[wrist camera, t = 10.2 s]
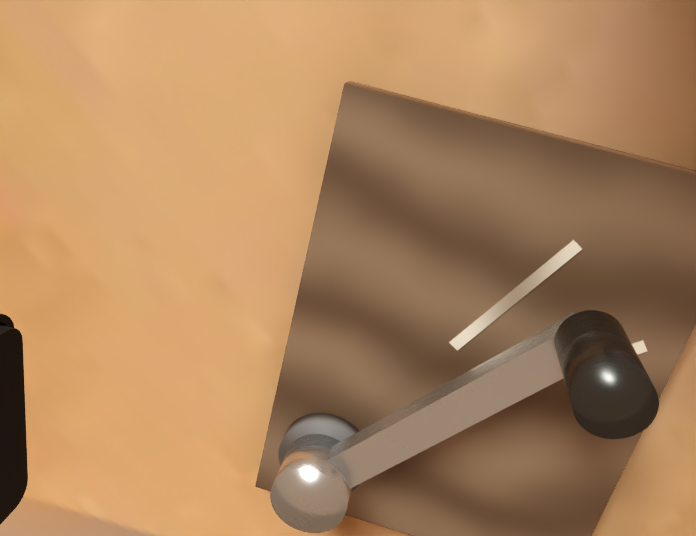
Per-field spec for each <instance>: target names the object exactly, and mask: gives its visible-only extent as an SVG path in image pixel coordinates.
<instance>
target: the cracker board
mask: <svg viewBox="0 0 696 536" xmlns="http://www.w3.org/2000/svg"><path fill="white" fill-rule="evenodd" d="M586 310H597V311H602V312H605V313H608V314H610V315H612V316H613V317H615V318H616V319H617V320H618V321H619V322H620V323H621V325H622V327H623V328H624V330H625V332H626V334H627V336H628V338H629V340H630V342H631V344H632V345H633V347H634V349H635V351H636V353H637V355H638V357H639V359H640V361H641V363H642V365H643V366H644V368H645V370H646V372H647V374H648V376H649V378H650V380H651V382H652V384H653V385H654V387H655V389H656V392H657V394H658V399H659V397H660V395H661V393H662V391H663V389H664V387H665V385H666V383H667V381H668V379H669V377H670V375H671V373H672V370H673V368H674V366H675V364H676V362H677V360H678V358H679V356H680V354H681V352H682V350H683V348H684V346H685V344H686V342H687V340H688V338H689V336H690V334H691V332H692V330H693V328H694V326H695V324H696V171H694V170H690V169H686V168H682V167H678V166H674V165H671V164H667V163H663V162H659V161H655V160H651V159H648V158H644V157H640V156H636V155H632V154H628V153H624V152H621V151H617V150H613V149H609V148H605V147H601V146H597V145H594V144H590V143H586V142H582V141H578V140H574V139H570V138H567V137H563V136H559V135H555V134H551V133H547V132H544V131H540V130H536V129H532V128H528V127H524V126H520V125H517V124H513V123H509V122H505V121H501V120H497V119H493V118H490V117H486V116H482V115H478V114H474V113H470V112H466V111H463V110H459V109H455V108H451V107H447V106H443V105H440V104H436V103H432V102H428V101H424V100H420V99H416V98H413V97H409V96H405V95H401V94H397V93H393V92H389V91H386V90H382V89H378V88H374V87H370V86H366V85H362V84H359V83H355V82H351V81H349V82H347V83H345V84H344V88H343V92H342V97H341V101H340V106H339V110H338V115H337V119H336V124H335V128H334V133H333V137H332V142H331V146H330V151H329V156H328V160H327V165H326V169H325V174H324V178H323V183H322V187H321V192H320V196H319V201H318V205H317V210H316V214H315V219H314V223H313V228H312V232H311V237H310V241H309V246H308V251H307V255H306V260H305V264H304V269H303V273H302V278H301V282H300V287H299V291H298V296H297V300H296V305H295V309H294V314H293V318H292V323H291V327H290V332H289V336H288V341H287V346H286V350H285V355H284V359H283V364H282V368H281V373H280V377H279V382H278V386H277V391H276V395H275V400H274V404H273V409H272V413H271V418H270V422H269V427H268V431H267V436H266V440H265V445H264V450H263V454H262V459H261V463H260V468H259V472H258V477H257V481H256V486H255V487H258V488H262V489H265V490H268V491H271V488H272V486H273V483H274V481H275V478H276V476H277V474H278V471H279V469H280V467H281V464H282V462H283V460H284V457H285V455H286V453H287V450H288V448H289V447H290V445H291V444H292V443H293V442H294V441H295V440H297V439H298V438H300V437H302V436H305V435H310V434H322V435H327V436H330V437H333V438H335V439H337V440H339V441H340V442H341V441H343V440H344V439H346V438H348V437H350V436H352V435H353V434H355V433H357V432H359V431H361V430H362V429H364V428H366V427H368V426H370V425H371V424H373V423H375V422H377V421H379V420H381V419H382V418H384V417H386V416H388V415H390V414H391V413H393V412H395V411H397V410H399V409H400V408H402V407H404V406H406V405H408V404H409V403H411V402H413V401H415V400H417V399H419V398H420V397H422V396H424V395H426V394H428V393H429V392H431V391H433V390H435V389H437V388H438V387H440V386H442V385H444V384H446V383H447V382H449V381H451V380H453V379H455V378H457V377H458V376H460V375H462V374H464V373H466V372H467V371H469V370H471V369H473V368H475V367H476V366H478V365H480V364H482V363H484V362H485V361H487V360H489V359H491V358H493V357H495V356H496V355H498V354H500V353H502V352H504V351H505V350H507V349H509V348H511V347H513V346H514V345H516V344H518V343H520V342H522V341H523V340H525V339H527V338H529V337H531V336H533V335H534V334H536V333H538V332H540V331H542V330H543V329H545V328H547V327H549V326H551V325H552V324H554V323H556V322H558V321H560V320H561V319H563V318H565V317H567V316H569V315H571V314H572V313H574V314H575V313H578V312H581V311H586ZM642 432H643V431H642ZM642 432H640V433H638V434H636V435H634V436H631V437H628V438H623V439H605V438H601V437H597V436H595V435H593V434H591V433H589V432H587V431H586V430H585V429H583V428H582V427H581V426H580V424H579V423H578V422H577V420H576V419H575V416H574V414H573V410H572V407H571V403H570V399H569V396H568V392H567V389H566V385H565V381H564V378H563V379H561V380H559V381H557V382H555V383H553V384H551V385H549V386H548V387H546V388H544V389H542V390H540V391H538V392H536V393H534V394H532V395H530V396H528V397H526V398H524V399H522V400H520V401H519V402H517V403H515V404H513V405H511V406H509V407H507V408H505V409H503V410H501V411H499V412H497V413H495V414H493V415H492V416H490V417H488V418H486V419H484V420H482V421H480V422H478V423H476V424H474V425H472V426H470V427H468V428H466V429H464V430H463V431H461V432H459V433H457V434H455V435H453V436H451V437H449V438H447V439H445V440H443V441H441V442H439V443H437V444H436V445H434V446H432V447H430V448H428V449H426V450H424V451H422V452H420V453H418V454H416V455H414V456H412V457H410V458H408V459H407V460H405V461H403V462H401V463H399V464H397V465H395V466H393V467H391V468H389V469H387V470H385V471H383V472H381V473H380V474H378V475H376V476H374V477H372V478H370V479H368V480H366V481H364V482H362V483H360V484H358V485H356V486H354V487H352V490H351V494H350V498H349V502H348V506H347V510H346V514H345V515H348V516H351V517H354V518H358V519H361V520H364V521H367V522H370V523H374V524H377V525H380V526H383V527H386V528H390V529H393V530H396V531H399V532H402V533H405V534H409V535H412V536H591V535H592V533H593V531H594V529H595V527H596V525H597V523H598V521H599V519H600V517H601V515H602V513H603V511H604V509H605V507H606V505H607V503H608V501H609V499H610V497H611V495H612V493H613V491H614V489H615V487H616V485H617V482H618V480H619V478H620V476H621V474H622V472H623V470H624V468H625V466H626V464H627V462H628V460H629V458H630V456H631V454H632V452H633V450H634V448H635V446H636V444H637V442H638V440H639V438H640V436H641V434H642Z"/></svg>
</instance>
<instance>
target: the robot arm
mask: <svg viewBox="0 0 696 536" xmlns="http://www.w3.org/2000/svg"><path fill="white" fill-rule="evenodd" d="M27 480H28V474H27V448H26V421H25V395H24V368H23V342H22V335H21V333H20V331H19V330H17V329H15V328H14V324H13V322H12V320H11V319H10V318H9V317H8V316H6V315H3V314H0V524H1V523H2V522H3V521H4V520H5V519H6V518H7V517H8V516H9V514H10V513H11V512H12V511H13V510H14V509H15V508H16V507H17V505H18V504H19V502H20V501H21V499H22V497H23V495H24V493H25V490H26V487H27Z"/></svg>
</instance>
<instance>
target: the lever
mask: <svg viewBox="0 0 696 536" xmlns="http://www.w3.org/2000/svg"><path fill="white" fill-rule="evenodd" d="M563 378H564V381H565V385H566V389H567V392H568V396H569V399H570V403H571V407H572V410H573V414H574V416H575V419H576V420H577V422H578V423H579V424H580V426H581V427H582V428H583V429H585V430H586V431H587V432H589V433H591V434H593V435H595V436H597V437H601V438H605V439H623V438H628V437H631V436H634V435H636V434H638V433H640V432H642V431H643V430H644V429H646V428H647V427H648V426H649V425H650V424H651V423H652V421H653V420H654V418H655V416H656V414H657V411H658V406H659V399H658V394H657V392H656V389H655V387H654V385H653V384H652V382H651V380H650V378H649V376H648V374H647V372H646V370H645V368H644V366H643V365H642V363H641V361H640V359H639V357H638V355H637V353H636V351H635V349H634V347H633V345H632V344H631V342H630V340H629V338H628V336H627V334H626V332H625V330H624V328H623V327H622V325H621V323H620V322H619V321H618V320H617V319H616V318H615V317H613V316H612V315H610V314H608V313H605V312H602V311H597V310H586V311H581V312H578V313H575V314H574V313H572V314H571V315H569V316H567V317H565V318H563V319H561V320H560V321H558V322H556V323H554V324H552V325H551V326H549V327H547V328H545V329H543V330H542V331H540V332H538V333H536V334H534V335H533V336H531V337H529V338H527V339H525V340H523V341H522V342H520V343H518V344H516V345H514V346H513V347H511V348H509V349H507V350H505V351H504V352H502V353H500V354H498V355H496V356H495V357H493V358H491V359H489V360H487V361H485V362H484V363H482V364H480V365H478V366H476V367H475V368H473V369H471V370H469V371H467V372H466V373H464V374H462V375H460V376H458V377H457V378H455V379H453V380H451V381H449V382H447V383H446V384H444V385H442V386H440V387H438V388H437V389H435V390H433V391H431V392H429V393H428V394H426V395H424V396H422V397H420V398H419V399H417V400H415V401H413V402H411V403H409V404H408V405H406V406H404V407H402V408H400V409H399V410H397V411H395V412H393V413H391V414H390V415H388V416H386V417H384V418H382V419H381V420H379V421H377V422H375V423H373V424H371V425H370V426H368V427H366V428H364V429H362V430H361V431H359V432H357V433H355V434H353V435H352V436H350V437H348V438H346V439H344V440H343V441H341V442H340V441H339V440H337V439H335V438H333V437H330V436H327V435H322V434H310V435H305V436H302V437H300V438H298V439H297V440H295V441H294V442H293V443H292V444H291V445H290V447H289V448H288V450H287V453H286V455H285V457H284V460H283V462H282V464H281V467H280V469H279V471H278V474H277V476H276V478H275V481H274V483H273V486H272V488H271V494H270V498H271V503H272V506H273V508H274V510H275V512H276V514H277V515H278V516H279V517H280V518H281V519H282V520H283V521H284V522H285V523H286V524H288V525H289V526H291V527H293V528H295V529H297V530H300V531H303V532H309V533H321V532H326V531H329V530H331V529H333V528H335V527H336V526H337V525H339V524H340V523H341V521H342V520H343V518H344V516H345V514H346V510H347V506H348V502H349V498H350V494H351V490H352V487H354V486H356V485H358V484H360V483H362V482H364V481H366V480H368V479H370V478H372V477H374V476H376V475H378V474H380V473H381V472H383V471H385V470H387V469H389V468H391V467H393V466H395V465H397V464H399V463H401V462H403V461H405V460H407V459H408V458H410V457H412V456H414V455H416V454H418V453H420V452H422V451H424V450H426V449H428V448H430V447H432V446H434V445H436V444H437V443H439V442H441V441H443V440H445V439H447V438H449V437H451V436H453V435H455V434H457V433H459V432H461V431H463V430H464V429H466V428H468V427H470V426H472V425H474V424H476V423H478V422H480V421H482V420H484V419H486V418H488V417H490V416H492V415H493V414H495V413H497V412H499V411H501V410H503V409H505V408H507V407H509V406H511V405H513V404H515V403H517V402H519V401H520V400H522V399H524V398H526V397H528V396H530V395H532V394H534V393H536V392H538V391H540V390H542V389H544V388H546V387H548V386H549V385H551V384H553V383H555V382H557V381H559V380H561V379H563Z"/></svg>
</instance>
